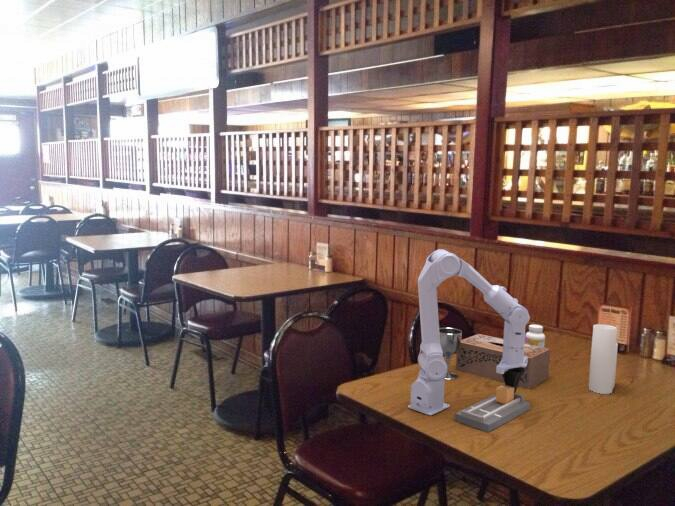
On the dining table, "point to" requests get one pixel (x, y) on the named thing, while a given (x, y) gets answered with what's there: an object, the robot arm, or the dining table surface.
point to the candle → (603, 359)
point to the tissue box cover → (487, 353)
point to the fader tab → (504, 394)
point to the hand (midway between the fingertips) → (510, 392)
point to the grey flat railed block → (492, 412)
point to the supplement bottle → (535, 336)
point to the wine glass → (450, 346)
